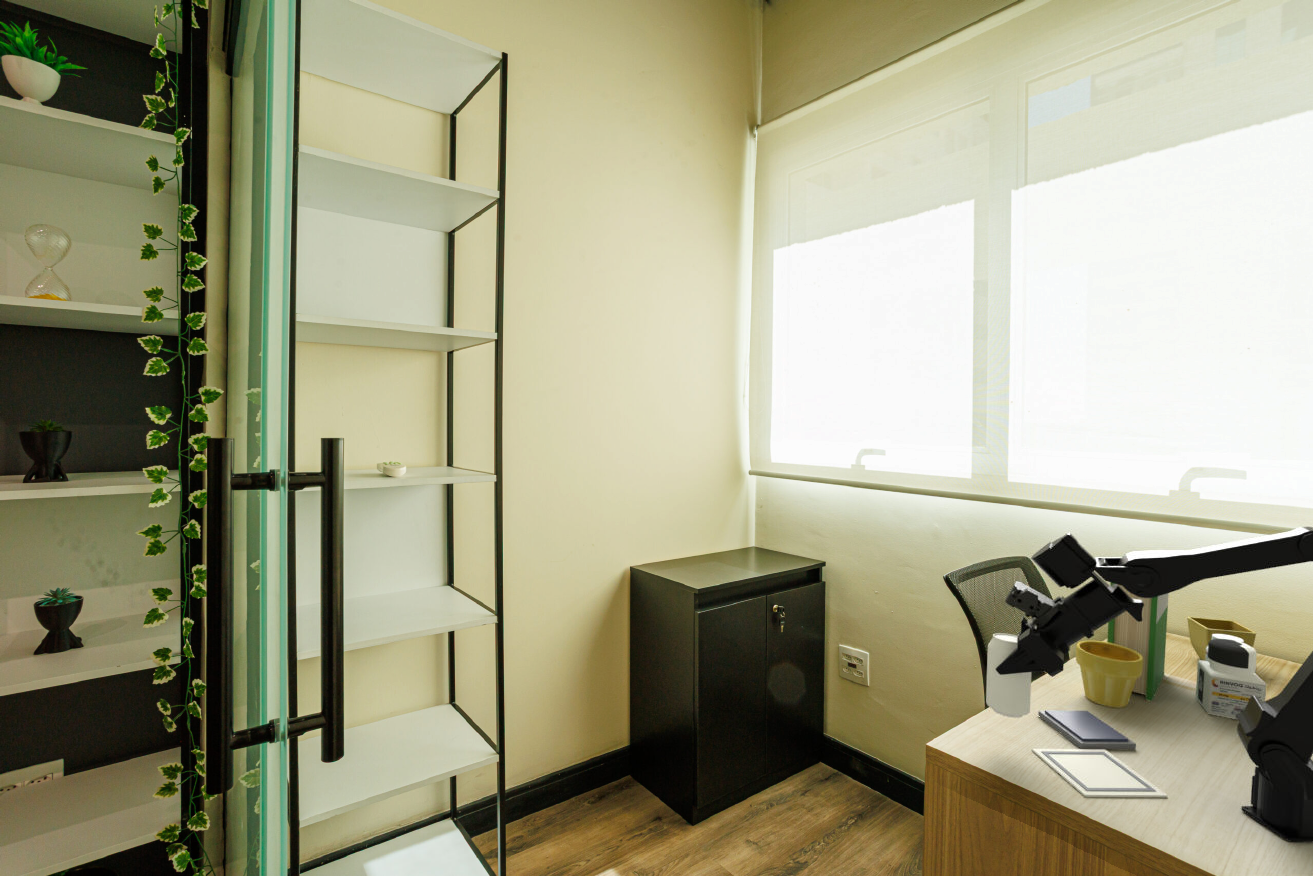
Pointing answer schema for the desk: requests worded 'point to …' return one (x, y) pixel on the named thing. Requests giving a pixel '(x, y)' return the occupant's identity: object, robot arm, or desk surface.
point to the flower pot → (1215, 632)
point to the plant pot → (1108, 671)
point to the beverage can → (1006, 680)
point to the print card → (1098, 773)
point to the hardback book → (1144, 640)
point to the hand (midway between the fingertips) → (999, 665)
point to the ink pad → (1086, 730)
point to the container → (1228, 678)
